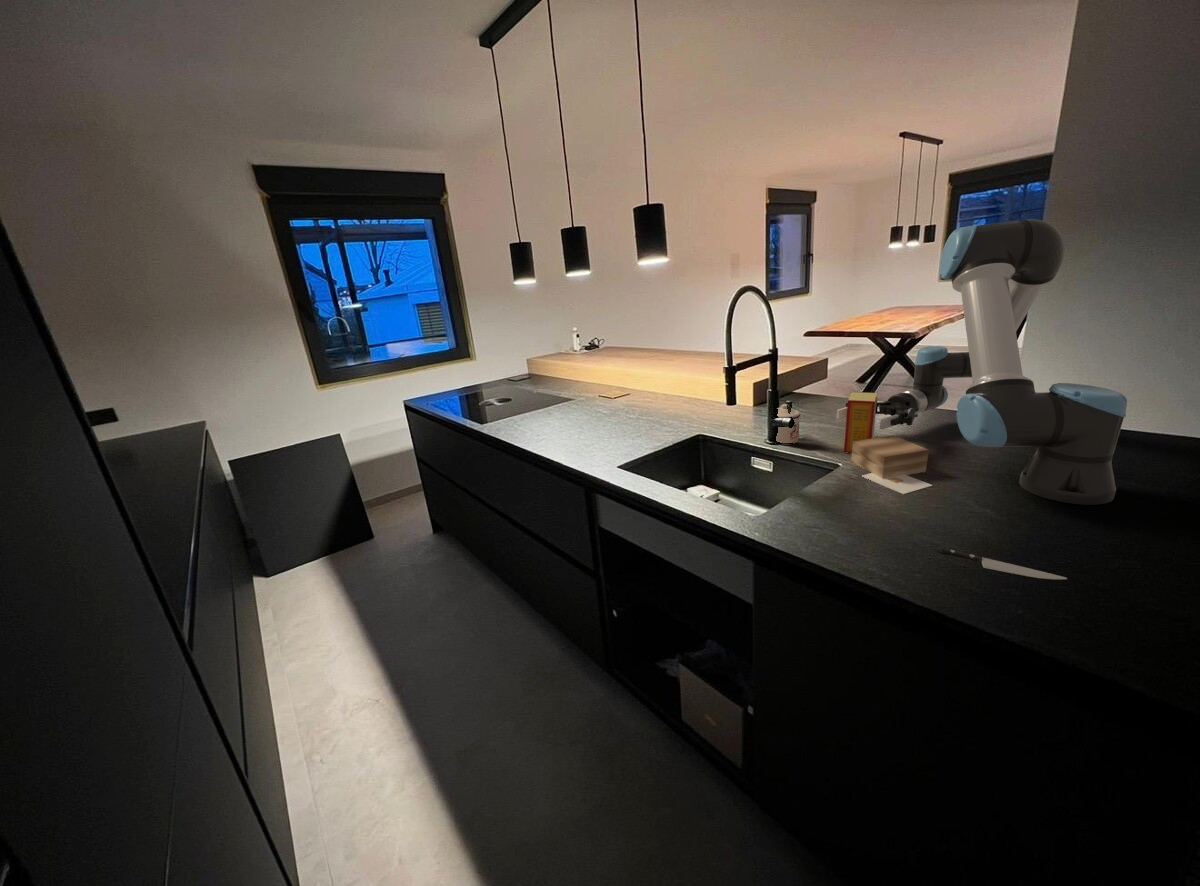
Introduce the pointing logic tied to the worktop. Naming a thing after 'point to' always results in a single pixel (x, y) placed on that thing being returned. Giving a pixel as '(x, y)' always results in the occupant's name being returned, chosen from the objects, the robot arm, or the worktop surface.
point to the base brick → (889, 456)
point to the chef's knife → (1002, 565)
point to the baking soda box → (860, 418)
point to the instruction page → (898, 483)
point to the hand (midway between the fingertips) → (858, 419)
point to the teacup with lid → (785, 432)
